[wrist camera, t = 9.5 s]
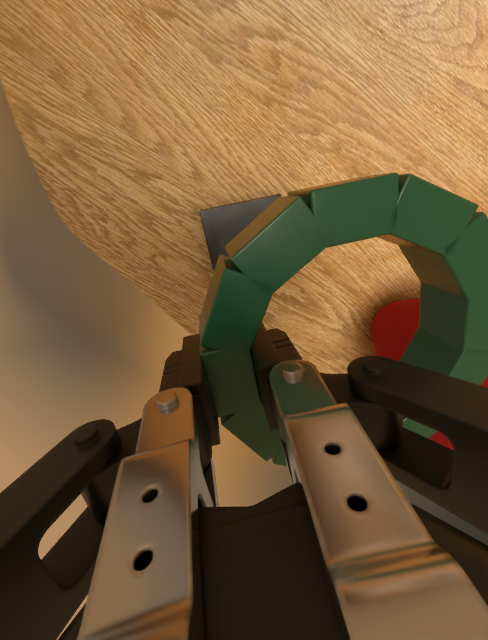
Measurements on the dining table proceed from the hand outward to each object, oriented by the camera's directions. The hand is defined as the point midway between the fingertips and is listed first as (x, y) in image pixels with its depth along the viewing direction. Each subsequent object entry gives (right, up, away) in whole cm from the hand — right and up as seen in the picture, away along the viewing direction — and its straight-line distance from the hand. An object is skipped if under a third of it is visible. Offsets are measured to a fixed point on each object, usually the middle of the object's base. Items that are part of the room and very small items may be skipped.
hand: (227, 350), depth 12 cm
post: (+1, +10, +24) cm, 26 cm away
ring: (+4, +1, 0) cm, 4 cm away
